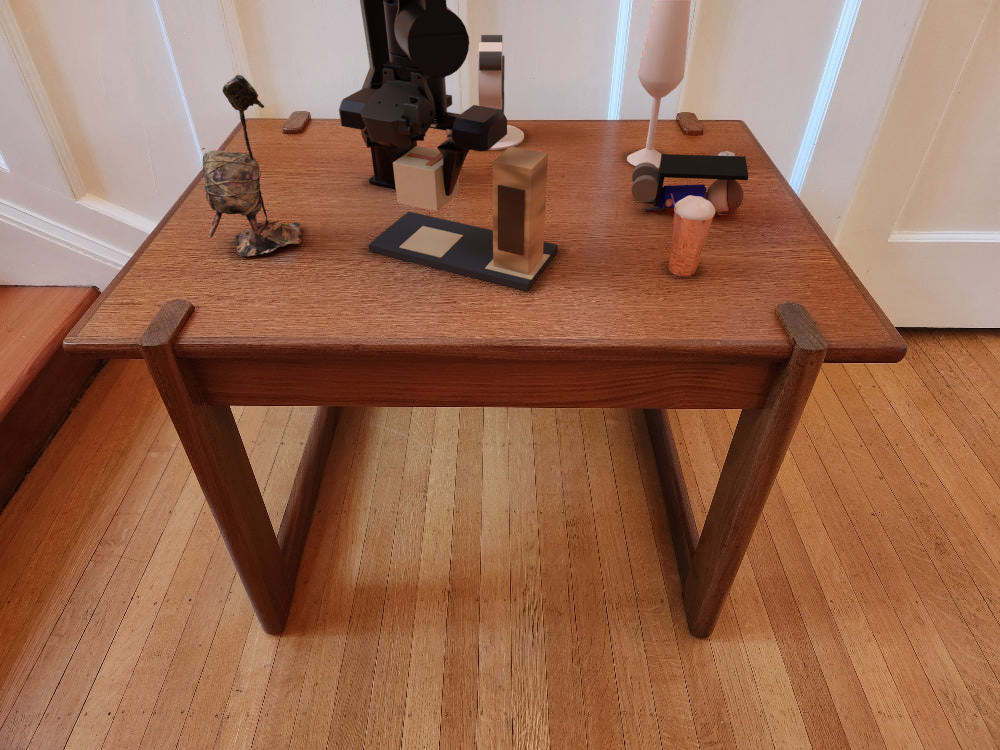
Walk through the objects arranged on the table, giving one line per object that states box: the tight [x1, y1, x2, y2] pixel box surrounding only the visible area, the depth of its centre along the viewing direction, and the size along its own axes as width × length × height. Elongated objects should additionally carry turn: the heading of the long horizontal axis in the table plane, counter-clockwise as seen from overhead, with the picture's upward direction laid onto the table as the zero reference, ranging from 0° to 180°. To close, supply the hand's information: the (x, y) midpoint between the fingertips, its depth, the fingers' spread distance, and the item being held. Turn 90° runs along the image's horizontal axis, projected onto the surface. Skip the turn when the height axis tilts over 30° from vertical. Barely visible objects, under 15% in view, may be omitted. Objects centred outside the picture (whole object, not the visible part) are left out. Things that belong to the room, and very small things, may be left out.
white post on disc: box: [477, 34, 525, 151], centre depth 105 cm, size 12×11×15 cm
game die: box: [716, 150, 736, 156], centre depth 99 cm, size 4×4×3 cm
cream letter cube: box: [393, 145, 460, 213], centre depth 76 cm, size 6×6×5 cm
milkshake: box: [668, 194, 716, 277], centre depth 75 cm, size 5×5×10 cm
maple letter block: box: [491, 146, 549, 275], centre depth 73 cm, size 5×5×13 cm
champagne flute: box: [626, 0, 692, 169], centre depth 95 cm, size 7×7×24 cm
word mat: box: [367, 211, 559, 292], centre depth 81 cm, size 22×10×1 cm, turn 65°
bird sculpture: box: [201, 74, 304, 258], centre depth 77 cm, size 8×11×20 cm
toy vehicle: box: [631, 153, 750, 216], centre depth 88 cm, size 7×8×15 cm
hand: (427, 190), depth 77 cm, fingers closed on cream letter cube, 5 cm apart
